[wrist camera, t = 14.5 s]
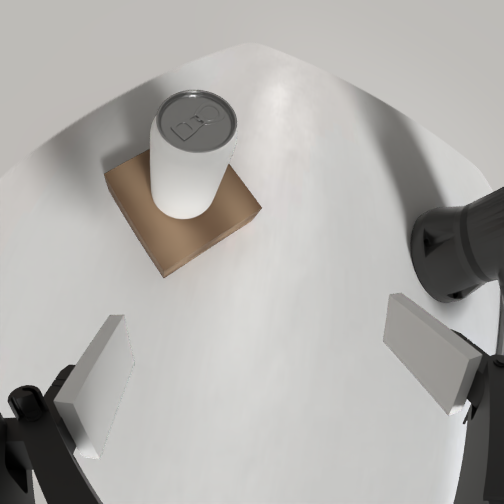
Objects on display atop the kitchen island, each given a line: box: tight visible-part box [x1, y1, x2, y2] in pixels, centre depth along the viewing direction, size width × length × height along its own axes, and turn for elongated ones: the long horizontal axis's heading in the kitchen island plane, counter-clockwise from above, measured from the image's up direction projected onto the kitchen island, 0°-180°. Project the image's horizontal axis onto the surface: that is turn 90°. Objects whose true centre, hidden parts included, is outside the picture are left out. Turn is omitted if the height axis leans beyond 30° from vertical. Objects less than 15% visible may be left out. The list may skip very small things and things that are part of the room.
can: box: [150, 90, 237, 219], centre depth 26 cm, size 6×6×12 cm
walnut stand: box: [104, 149, 262, 278], centre depth 33 cm, size 12×12×4 cm
